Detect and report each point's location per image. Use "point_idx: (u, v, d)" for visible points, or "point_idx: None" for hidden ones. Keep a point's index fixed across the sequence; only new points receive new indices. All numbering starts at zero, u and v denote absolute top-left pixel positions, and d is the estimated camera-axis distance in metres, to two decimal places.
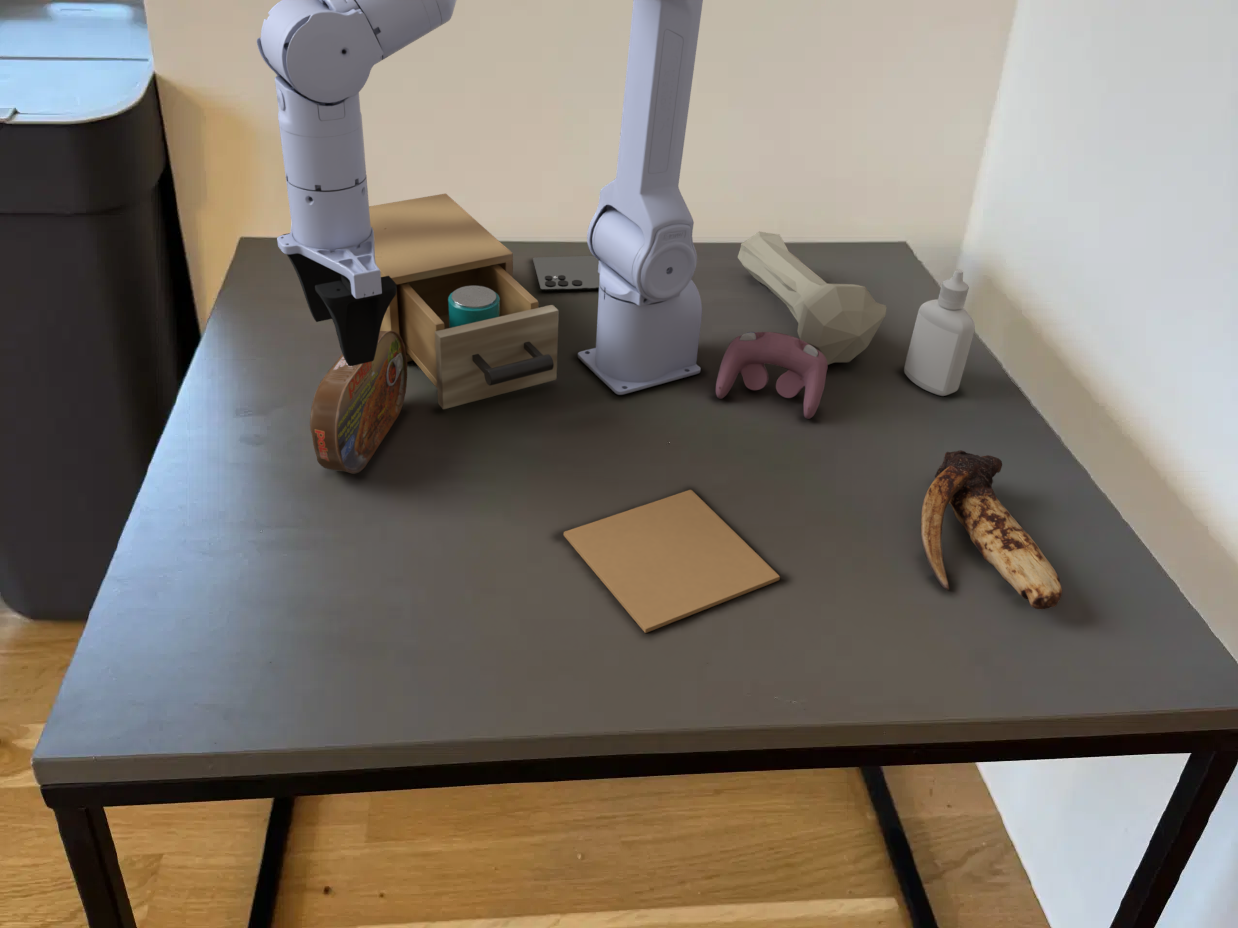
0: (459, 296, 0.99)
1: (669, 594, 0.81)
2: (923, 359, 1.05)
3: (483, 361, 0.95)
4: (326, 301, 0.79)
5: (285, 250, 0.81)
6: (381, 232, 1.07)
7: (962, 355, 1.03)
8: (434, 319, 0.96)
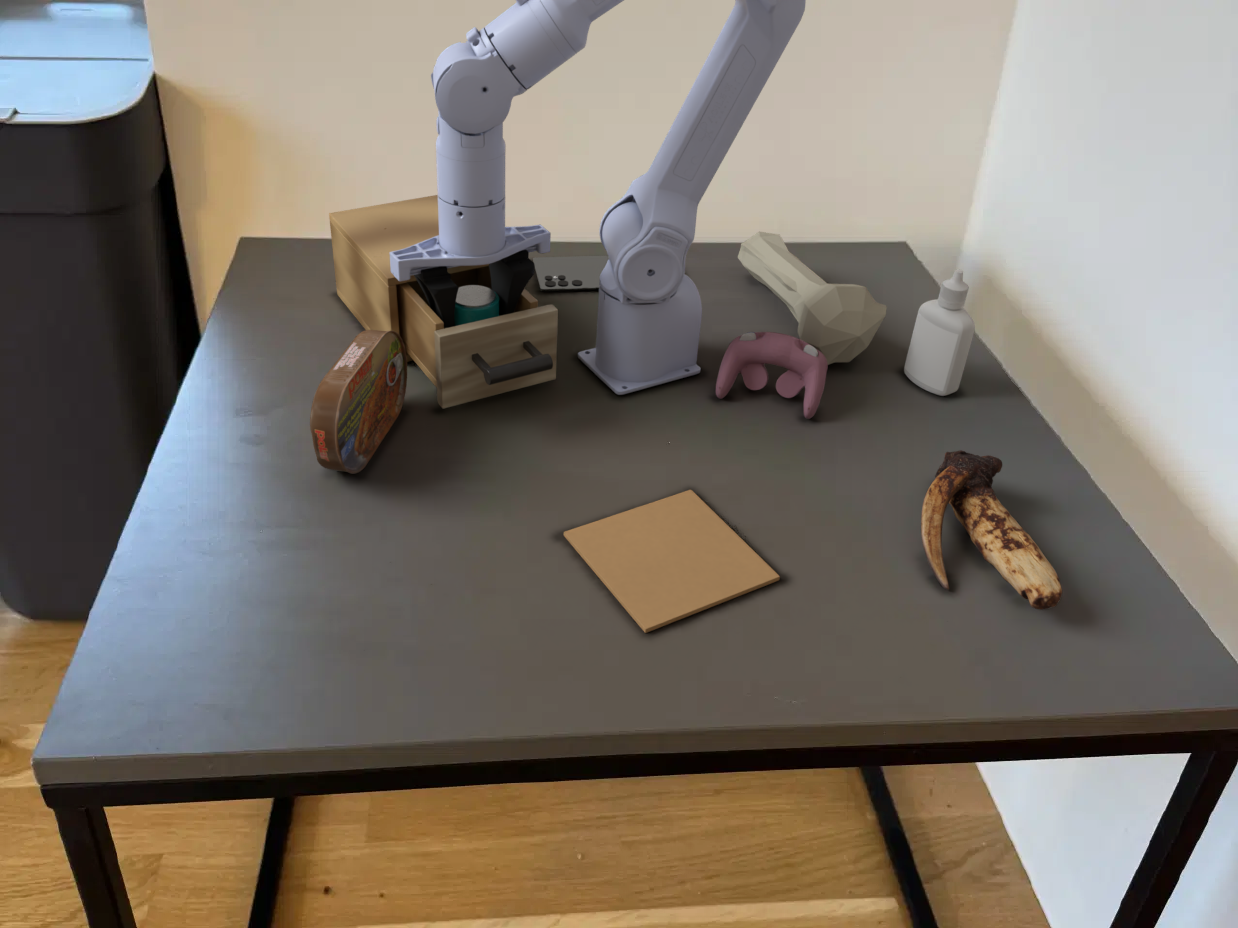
0: (458, 295, 0.99)
1: (669, 594, 0.81)
2: (923, 359, 1.05)
3: (482, 360, 0.95)
4: None
5: None
6: (381, 232, 1.07)
7: (962, 355, 1.03)
8: (433, 318, 0.96)
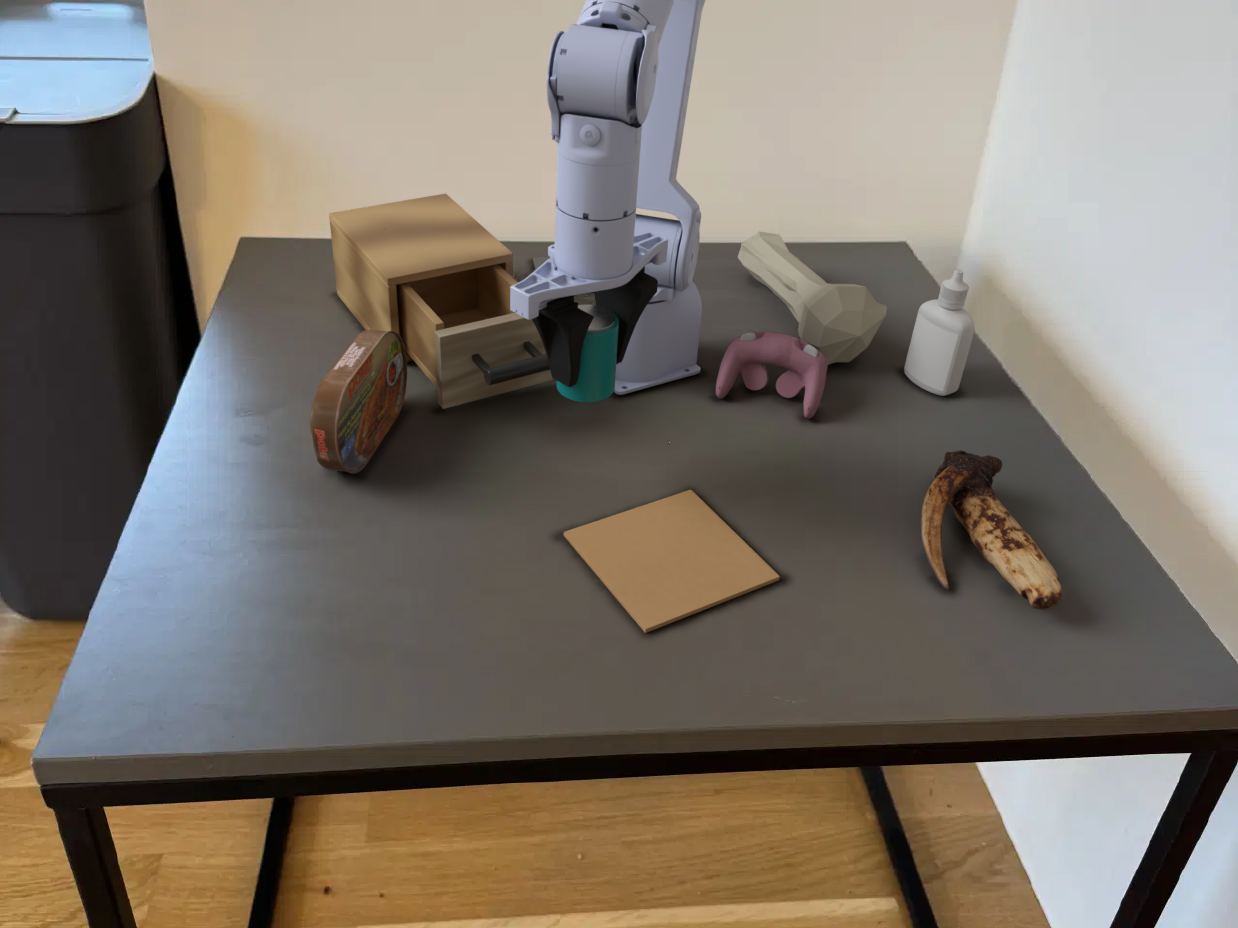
0: None
1: (669, 594, 0.81)
2: (923, 359, 1.05)
3: (483, 361, 0.95)
4: None
5: (548, 251, 0.82)
6: (381, 232, 1.07)
7: (962, 355, 1.03)
8: (434, 319, 0.96)
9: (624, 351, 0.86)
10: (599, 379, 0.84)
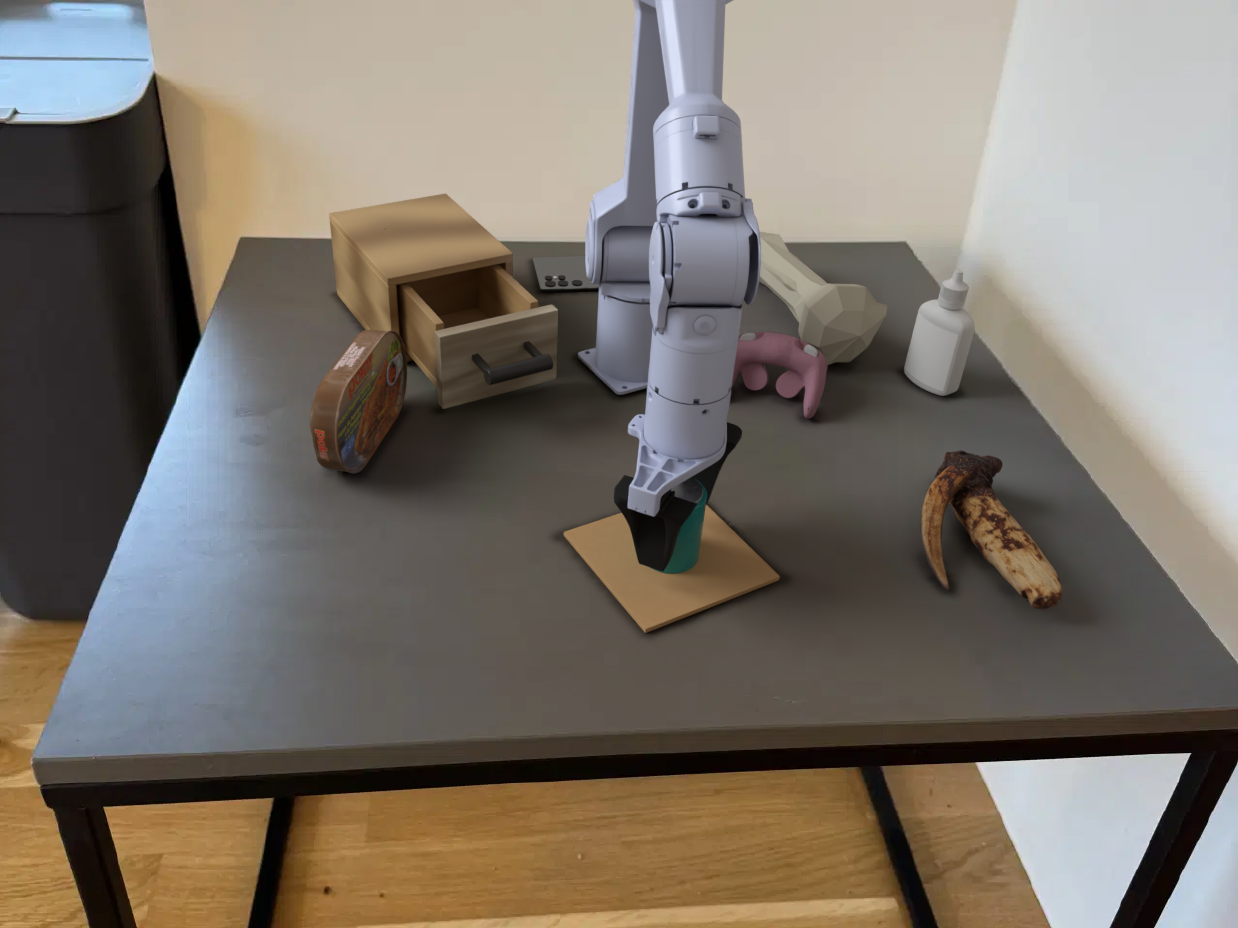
0: None
1: (669, 594, 0.81)
2: (923, 359, 1.05)
3: (483, 361, 0.95)
4: (614, 494, 0.76)
5: (628, 429, 0.79)
6: (381, 232, 1.07)
7: (962, 355, 1.03)
8: (434, 319, 0.96)
9: (708, 499, 0.85)
10: (694, 548, 0.82)
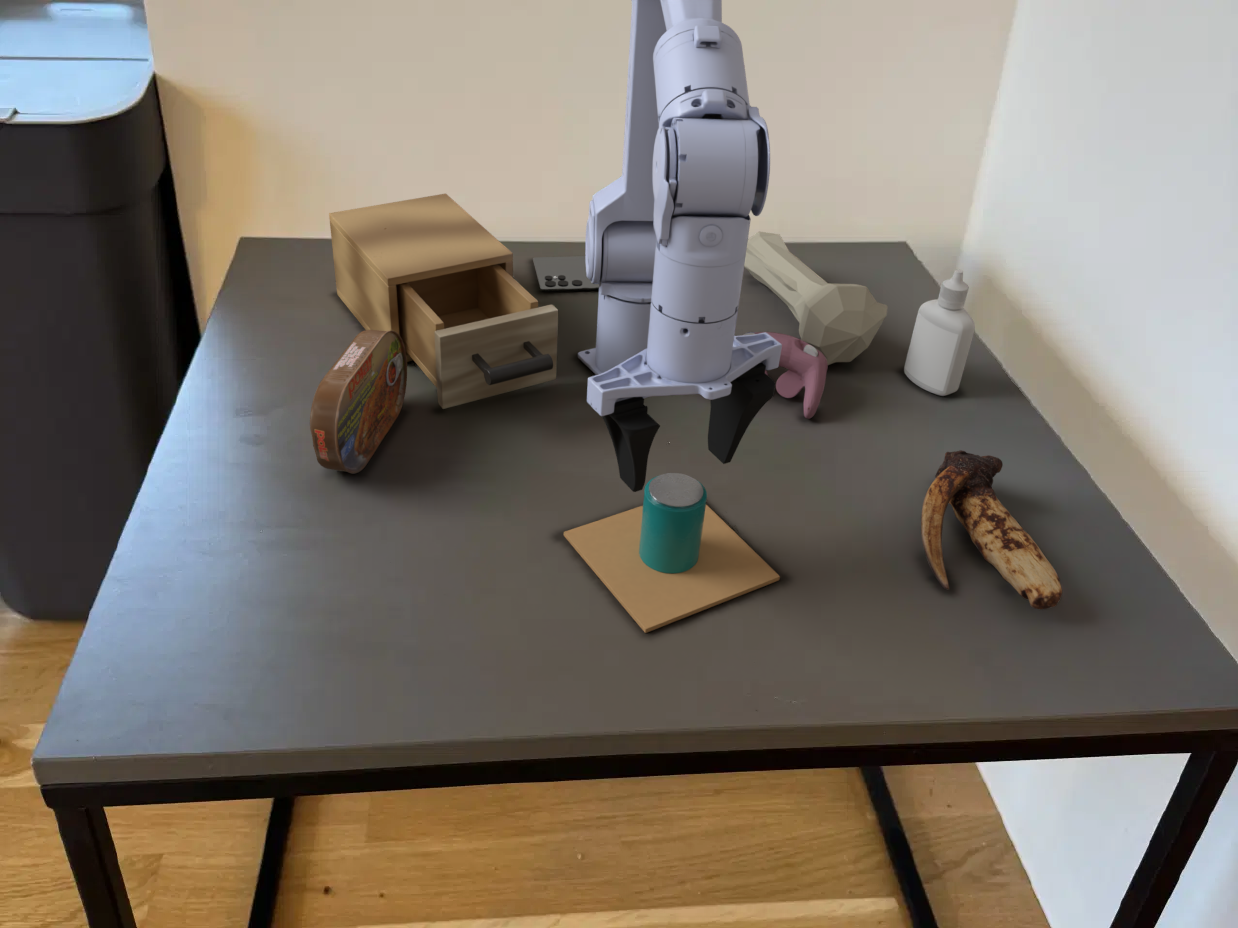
0: (664, 496, 0.80)
1: (669, 594, 0.81)
2: (923, 359, 1.05)
3: (483, 361, 0.95)
4: (773, 391, 0.77)
5: (730, 389, 0.73)
6: (381, 232, 1.07)
7: (962, 355, 1.03)
8: (434, 319, 0.96)
9: None
10: (694, 548, 0.82)
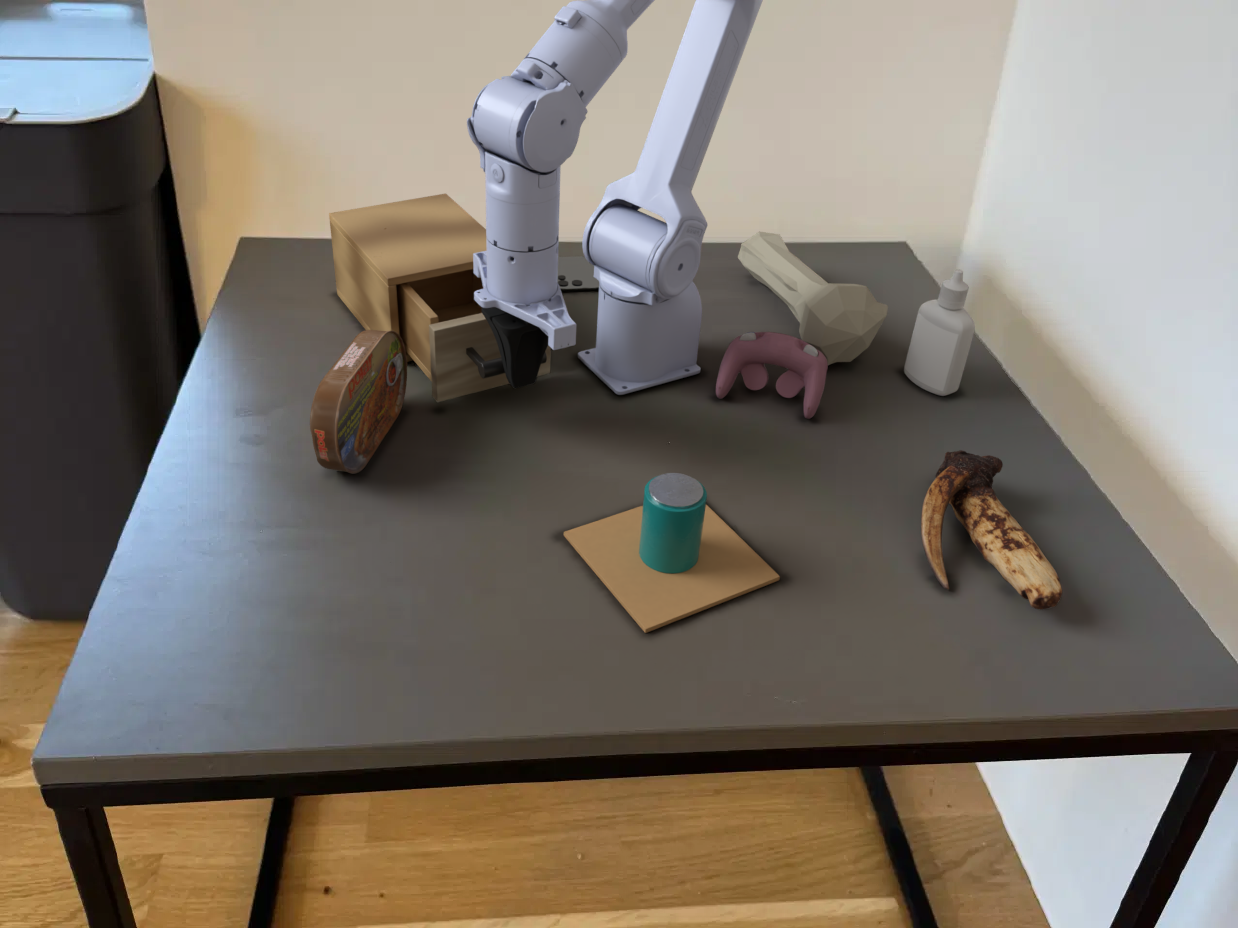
0: (664, 496, 0.80)
1: (669, 594, 0.81)
2: (923, 359, 1.05)
3: (477, 354, 0.96)
4: (504, 332, 0.89)
5: (483, 304, 0.88)
6: (381, 232, 1.07)
7: (962, 355, 1.03)
8: (428, 313, 0.97)
9: None
10: (694, 548, 0.82)
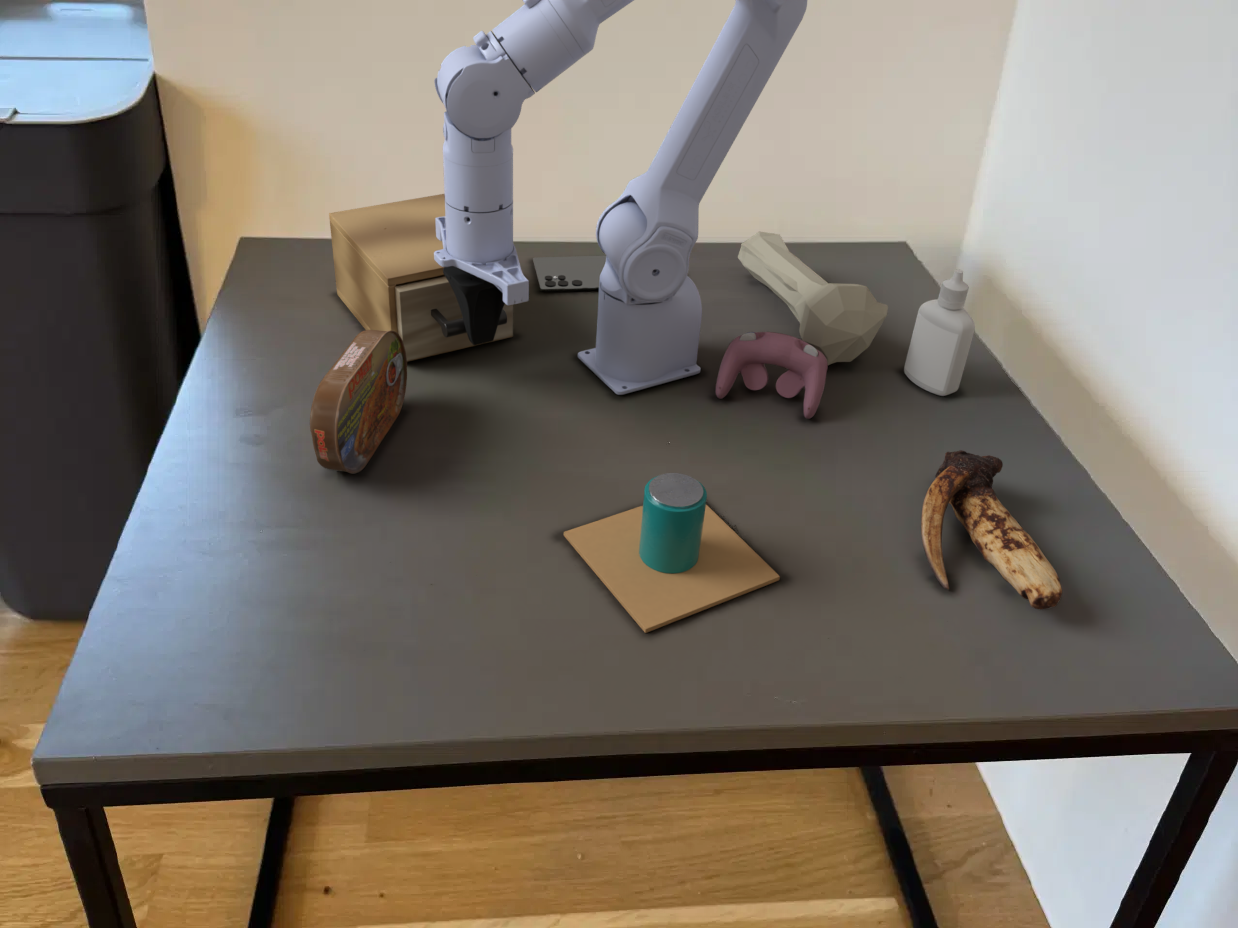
0: (664, 496, 0.80)
1: (669, 594, 0.81)
2: (923, 359, 1.05)
3: (441, 315, 1.01)
4: (462, 289, 0.94)
5: (442, 263, 0.93)
6: (381, 232, 1.07)
7: (962, 355, 1.03)
8: None
9: None
10: (694, 548, 0.82)
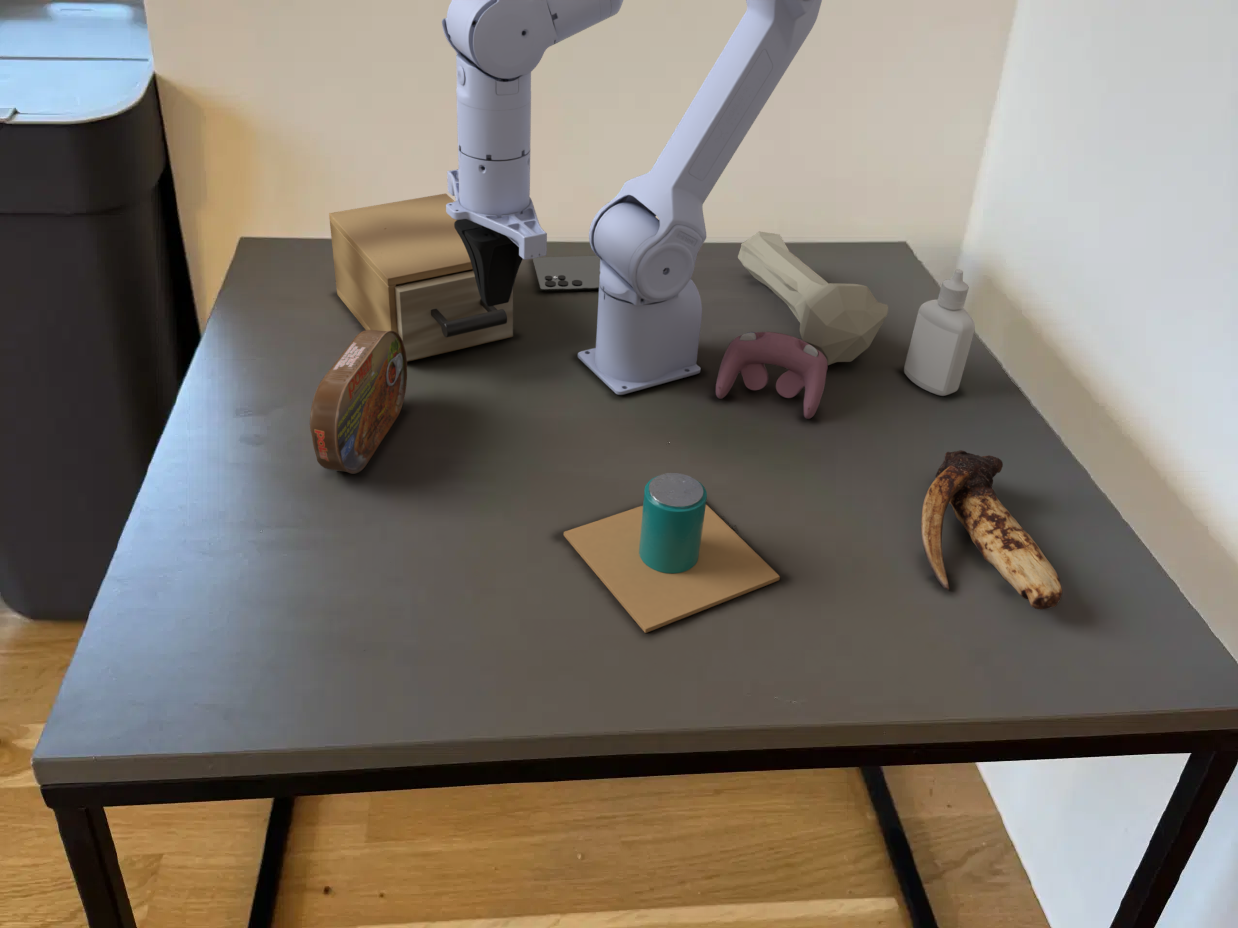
0: (664, 496, 0.80)
1: (669, 594, 0.81)
2: (923, 359, 1.05)
3: (441, 315, 1.01)
4: (476, 244, 0.89)
5: (455, 216, 0.88)
6: (381, 232, 1.07)
7: (962, 355, 1.03)
8: None
9: None
10: (694, 548, 0.82)
